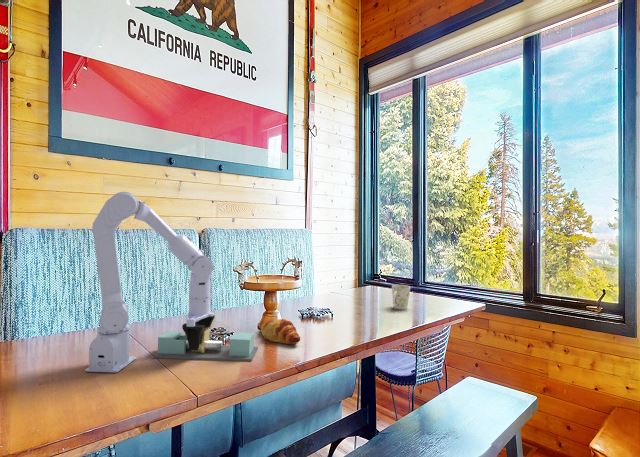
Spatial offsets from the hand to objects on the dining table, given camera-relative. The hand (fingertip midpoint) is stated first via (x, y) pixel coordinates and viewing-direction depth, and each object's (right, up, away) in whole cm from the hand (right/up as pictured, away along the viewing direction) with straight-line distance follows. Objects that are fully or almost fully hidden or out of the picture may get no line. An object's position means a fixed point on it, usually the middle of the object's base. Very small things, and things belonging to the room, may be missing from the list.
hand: (198, 345), depth 105 cm
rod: (-1, -1, 0) cm, 2 cm away
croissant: (+21, -3, +16) cm, 27 cm away
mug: (+70, -4, +62) cm, 94 cm away
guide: (+3, -2, 0) cm, 4 cm away
